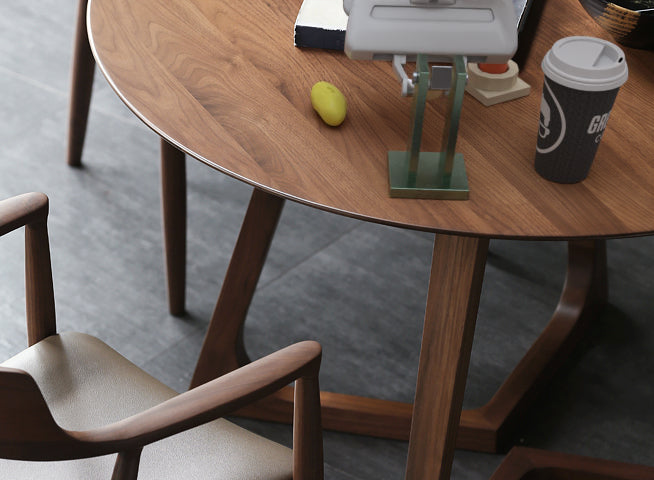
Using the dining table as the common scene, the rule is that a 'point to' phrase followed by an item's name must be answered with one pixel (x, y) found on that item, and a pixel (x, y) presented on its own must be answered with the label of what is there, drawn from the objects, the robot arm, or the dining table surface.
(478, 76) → the button box
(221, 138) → the dining table surface
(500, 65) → the button
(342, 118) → the lemon
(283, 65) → the dining table surface
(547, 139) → the coffee cup
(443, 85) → the lever
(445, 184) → the bracket
